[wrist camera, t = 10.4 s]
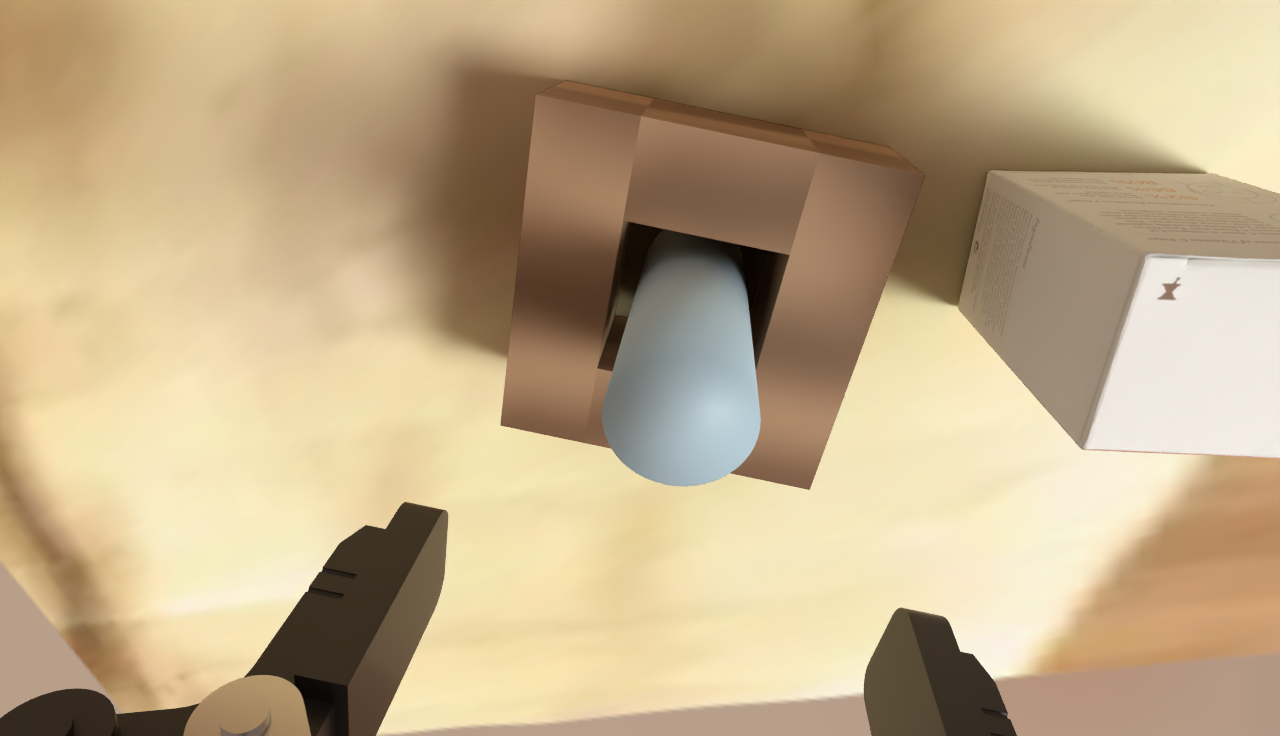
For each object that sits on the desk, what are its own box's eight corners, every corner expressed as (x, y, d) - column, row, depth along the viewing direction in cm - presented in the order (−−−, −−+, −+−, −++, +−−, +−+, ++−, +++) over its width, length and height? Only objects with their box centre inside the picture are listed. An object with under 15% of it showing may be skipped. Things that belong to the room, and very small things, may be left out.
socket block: (566, 80, 26) (535, 94, 21) (888, 146, 26) (925, 174, 21) (531, 366, 31) (500, 425, 27) (796, 421, 31) (809, 489, 27)
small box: (953, 307, 28) (1071, 454, 19) (984, 165, 26) (1140, 252, 16) (1164, 316, 27) (1396, 472, 18) (1218, 170, 25) (1520, 264, 16)
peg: (655, 210, 27) (615, 334, 17) (755, 230, 27) (779, 368, 17) (636, 303, 29) (591, 468, 19) (730, 322, 29) (738, 499, 19)
